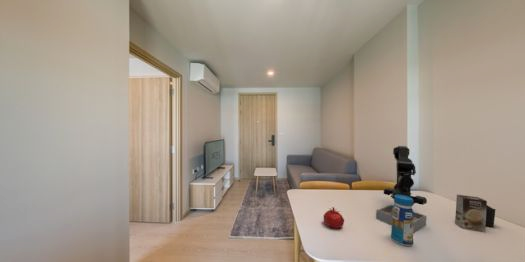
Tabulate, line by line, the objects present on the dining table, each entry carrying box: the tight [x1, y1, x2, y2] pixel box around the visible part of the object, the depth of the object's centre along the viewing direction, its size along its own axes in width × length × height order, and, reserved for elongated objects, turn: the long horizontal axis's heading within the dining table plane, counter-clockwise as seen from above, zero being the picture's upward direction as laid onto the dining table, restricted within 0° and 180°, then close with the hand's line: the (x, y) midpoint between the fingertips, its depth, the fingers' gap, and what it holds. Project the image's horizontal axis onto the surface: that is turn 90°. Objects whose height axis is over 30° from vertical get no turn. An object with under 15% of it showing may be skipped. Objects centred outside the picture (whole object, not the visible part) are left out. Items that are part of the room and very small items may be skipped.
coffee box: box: [454, 194, 488, 233], centre depth 99 cm, size 9×6×16 cm
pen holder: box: [485, 204, 496, 228], centre depth 104 cm, size 9×9×10 cm
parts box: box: [375, 204, 427, 233], centre depth 103 cm, size 17×17×5 cm
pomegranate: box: [323, 207, 345, 229], centre depth 96 cm, size 10×10×9 cm
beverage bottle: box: [390, 195, 415, 247], centre depth 84 cm, size 8×8×20 cm
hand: (403, 211), depth 104 cm, fingers closed on walnut peg, 4 cm apart
